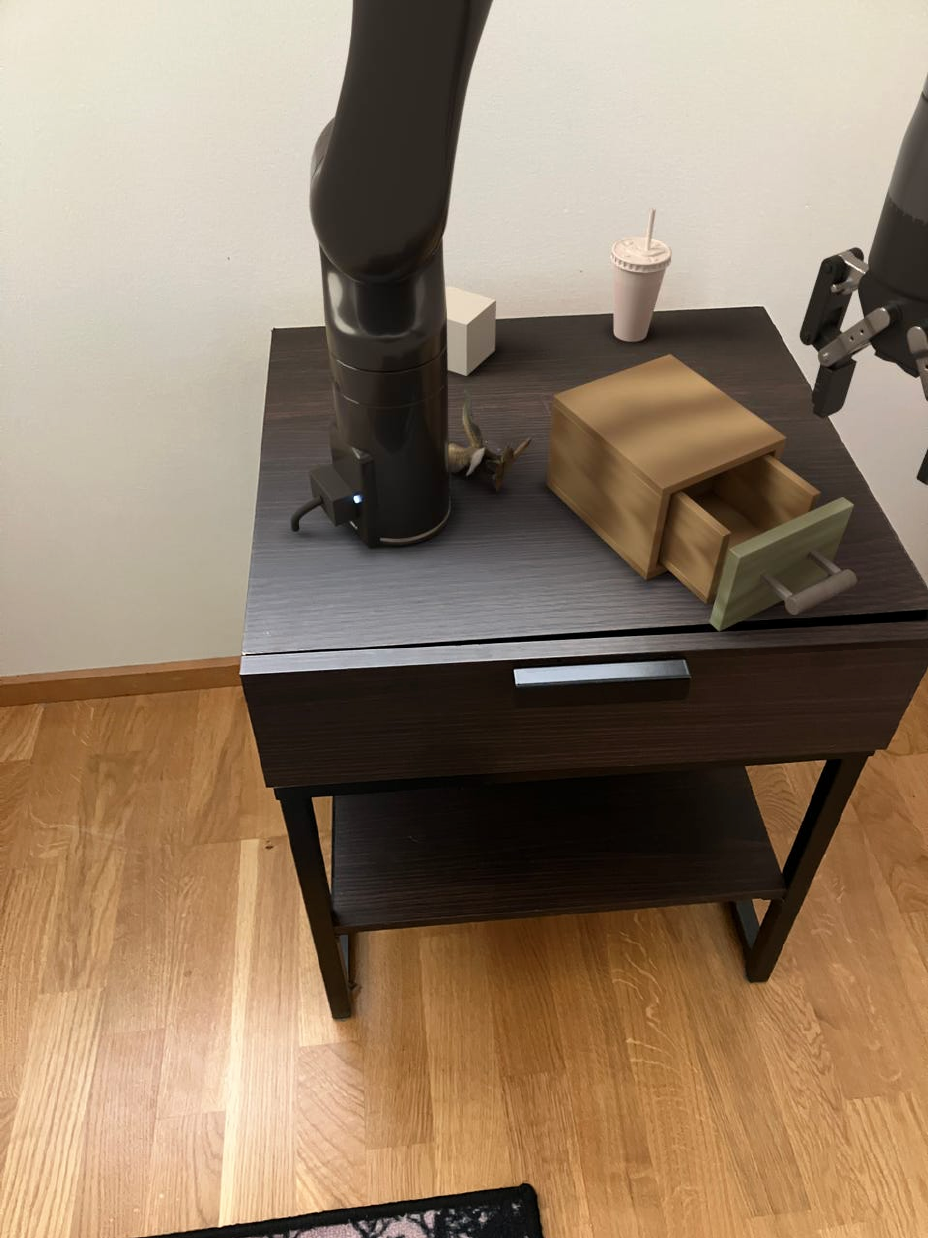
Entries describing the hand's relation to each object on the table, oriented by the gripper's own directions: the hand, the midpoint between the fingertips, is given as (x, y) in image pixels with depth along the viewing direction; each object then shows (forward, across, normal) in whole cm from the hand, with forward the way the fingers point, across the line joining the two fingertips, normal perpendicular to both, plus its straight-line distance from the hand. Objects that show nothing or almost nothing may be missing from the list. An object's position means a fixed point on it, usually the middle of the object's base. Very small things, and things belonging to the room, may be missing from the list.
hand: (877, 444), depth 62 cm
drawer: (+18, -8, 0) cm, 20 cm away
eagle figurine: (+18, -33, -11) cm, 39 cm away
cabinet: (+18, -19, 0) cm, 27 cm away
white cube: (+18, -50, -1) cm, 54 cm away
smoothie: (+19, -44, +18) cm, 51 cm away
